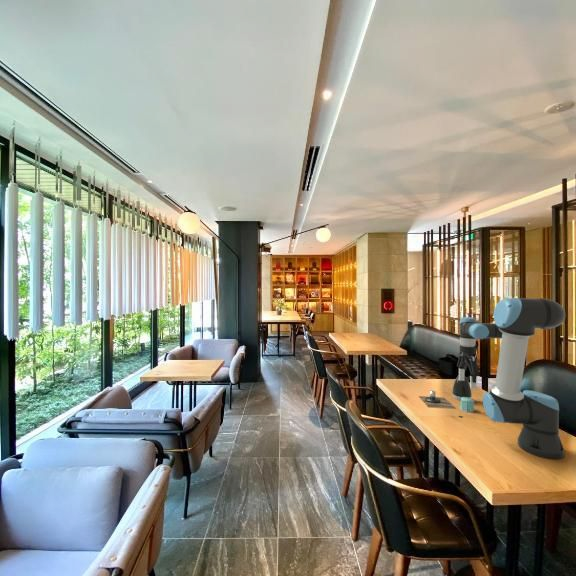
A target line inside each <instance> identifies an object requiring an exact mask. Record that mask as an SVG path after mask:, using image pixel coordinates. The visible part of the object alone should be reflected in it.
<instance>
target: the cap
mask: <svg viewBox="0 0 576 576" xmlns="http://www.w3.org/2000/svg"><path fill="white" fill-rule="evenodd" d="M460 410H461V411H462V412H466V413H474V412H475V401H474V398H472V397H471V398H468V397H461V401H460Z"/></svg>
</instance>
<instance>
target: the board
mask: <svg viewBox="0 0 576 576" xmlns="http://www.w3.org/2000/svg"><path fill="white" fill-rule="evenodd" d="M418 397H419V399H420V400H421V401H422V402H423V403H424V404H425V405H426V407H427V408H431V409H432V408H433V409H451V410H452V409H453V410H457V408H456V407H455V406H454V405H453V404H452V403H451V402H450V401H449V400H447V399H446V398H445V397H443V396H441V397H439V396H436V398H438V399H440V403H430V402H427V401H426V400H425V398H426V397H427V396H426V395H425V396H424V395H423V396H421V395H420V396H418Z"/></svg>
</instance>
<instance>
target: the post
mask: <svg viewBox="0 0 576 576" xmlns="http://www.w3.org/2000/svg"><path fill="white" fill-rule="evenodd" d="M436 393H437V392H436V391H435V390H429V396H425V397H426V398H425V400H426V401H427V402H430V403H440V399H438V398H436V397H437V396H436Z"/></svg>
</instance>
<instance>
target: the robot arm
mask: <svg viewBox="0 0 576 576" xmlns="http://www.w3.org/2000/svg"><path fill="white" fill-rule="evenodd" d="M565 319H566V311H565V309H564V308H563V306H562V305H561V304H559V302H556V301H555V300H552V299H549V298H531V297H530V298H529V297H528V298H525V297H522V298H521V297H512V298H509V297H508V298H502V299H501V300H500V301H498V302H497V304H496V305H495V308H494V310H493V321H494V323H487V322H486V323H485V322H484V323H481V322H480V323H478V322H477V321H476V318H475V317H472V316H471V317H470V316H469V317H468V316H462V317H460V320H459V355H458V358H457V359H458V360H457V363H456V367H457V368H458V376H459V381H464V376H465V372H466V371H465V369H466V368H465V366H466V365H467V366H468V369H469V372H470V375H469V377H470V379H469V380H470V381H469V384H470V388H471V389H473V390H474V389H477V378H478V377H479V376H480V373H479V369H478V364H477V357H476V356H474V354H476V342H477V339H478V340H483V339H501V341H500V347H499V348H500V350H499V354H498V355H499V356H498V360H497V361H498V363H497V368H496V369H497V370H496V375H495V376H496V378H495V384H494V385H491V386H490V387H489V388H490V389H489V392H484V393H483V395H482V404H483V408H484V411H485V412H484V413H486V416H487V417H488V418H489V419H490V420H491V421H492V422H495V423H502V424H516V425H517V424H521V425H522V428H521V430H520V433H519V435H518V437H517V445H518V447H520V448H521V449H522V450H523V451H525V452H527V453H529V454H532V455H535V456H538V457H542V458H545V459H552V460H553V459H554V460H559V459H560V460H561V459H563V458H564V457H565V449H564V445H563V443H562V441H561V438H560V435H559V433H560V432H559V424H560V421H559V419H560V417H559V415H560V407H559V406H560V405H559V401H558V399H556V398H555V397H553V396H551V395H548V394H545V393H542V392H539V391H535V390H529V389H527V390H523V391H521V389H522V383H523V382H522V381H523V376H524V370H525V362H526V356H527V351H528V344H529V339H530V338H531V337H533V336H534V335H535V332H536V330H549V329H554V328H557V327H559V326H561V325H562V324H563V323H564V321H565Z"/></svg>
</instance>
